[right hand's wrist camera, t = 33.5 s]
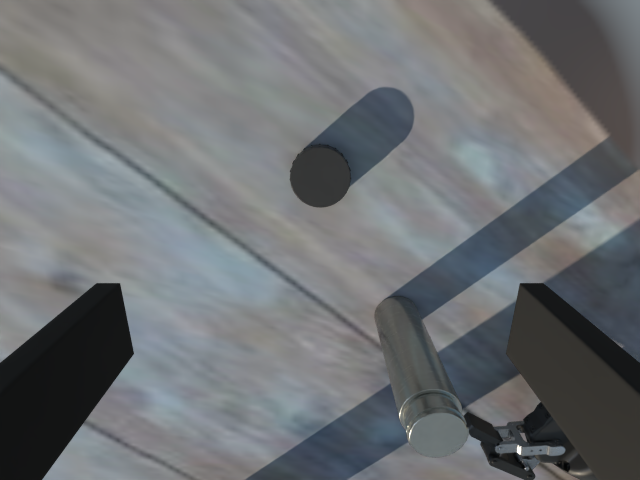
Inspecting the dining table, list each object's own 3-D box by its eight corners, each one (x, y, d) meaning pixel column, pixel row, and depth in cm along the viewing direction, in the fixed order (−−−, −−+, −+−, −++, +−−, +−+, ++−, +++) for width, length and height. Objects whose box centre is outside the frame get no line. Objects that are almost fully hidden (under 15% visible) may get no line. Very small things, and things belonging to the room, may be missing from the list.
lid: (353, 197, 40) (355, 203, 37) (296, 206, 40) (295, 212, 38) (345, 139, 38) (347, 142, 35) (286, 149, 38) (284, 151, 36)
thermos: (376, 335, 45) (406, 464, 29) (372, 298, 44) (403, 413, 28) (418, 331, 45) (472, 457, 29) (416, 293, 43) (472, 406, 28)
